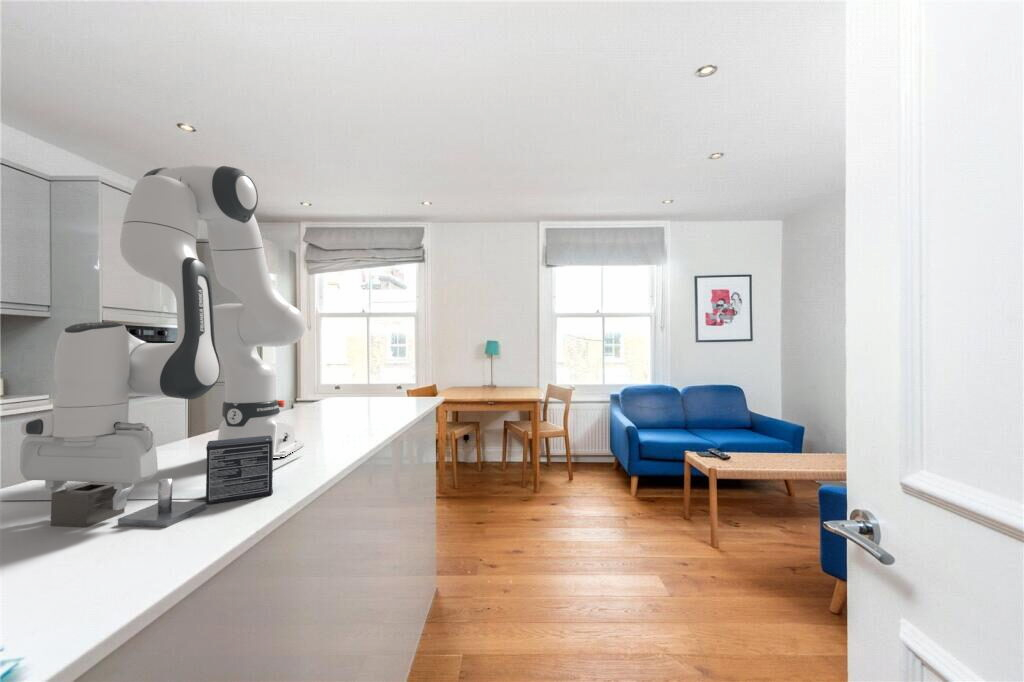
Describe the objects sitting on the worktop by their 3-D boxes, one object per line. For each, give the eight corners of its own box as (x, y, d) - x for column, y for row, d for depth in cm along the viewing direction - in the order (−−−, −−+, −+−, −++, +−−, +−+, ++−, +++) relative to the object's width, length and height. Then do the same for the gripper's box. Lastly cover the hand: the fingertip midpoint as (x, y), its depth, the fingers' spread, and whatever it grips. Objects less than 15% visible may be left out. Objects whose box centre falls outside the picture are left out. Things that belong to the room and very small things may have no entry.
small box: (270, 486, 87) (272, 433, 87) (273, 495, 81) (274, 439, 82) (206, 495, 81) (208, 439, 81) (204, 505, 76) (206, 446, 76)
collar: (90, 511, 73) (91, 481, 73) (124, 512, 72) (125, 482, 72) (50, 525, 67) (51, 493, 67) (86, 527, 66) (87, 494, 66)
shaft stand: (162, 506, 75) (163, 472, 75) (206, 508, 74) (207, 473, 75) (117, 525, 67) (118, 486, 67) (166, 527, 66) (167, 488, 67)
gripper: (169, 420, 72) (167, 503, 72) (55, 417, 73) (53, 499, 73) (134, 426, 66) (131, 517, 66) (10, 423, 67) (7, 513, 67)
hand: (89, 508), depth 69 cm, fingers open, 8 cm apart
